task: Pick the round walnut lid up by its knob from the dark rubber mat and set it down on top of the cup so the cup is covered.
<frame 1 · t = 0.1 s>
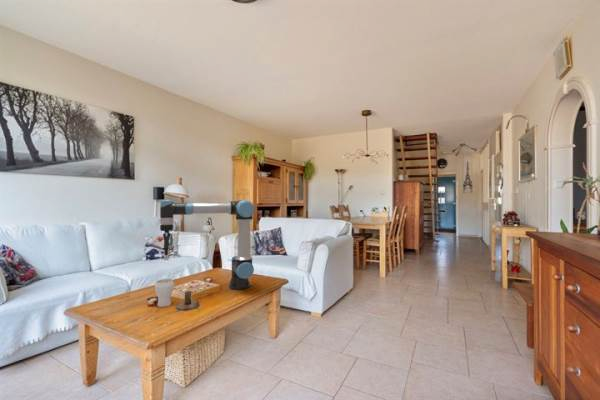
hand: (166, 257, 178), 28 cm above the table, fingers open, 13 cm apart
lid: (187, 306, 170), point 1 cm above the table, touching mat
cup: (164, 305, 173), on the table
mat: (187, 307, 170), on the table
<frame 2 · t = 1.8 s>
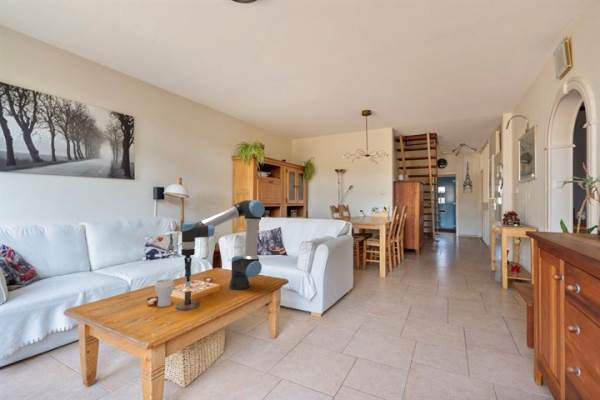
hand: (187, 283, 170), 14 cm above the table, fingers open, 13 cm apart
nothing on the table moved.
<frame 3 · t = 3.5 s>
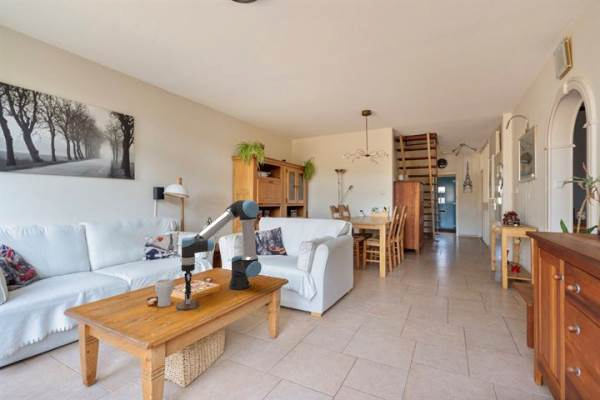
hand: (187, 302, 170), 3 cm above the table, fingers closed on lid, 3 cm apart
lid: (187, 306, 170), point 1 cm above the table, touching gripper
everything else where it was.
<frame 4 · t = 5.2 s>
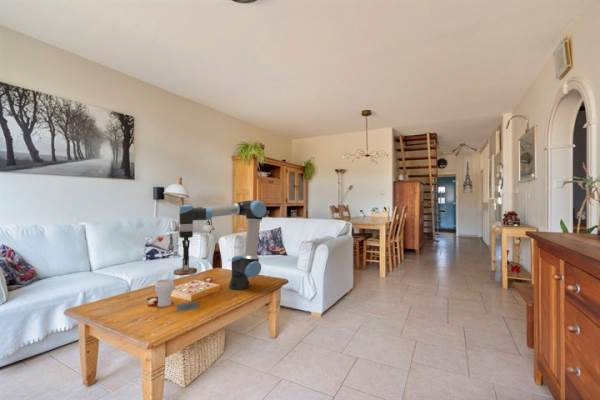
hand: (185, 269, 170), 23 cm above the table, fingers closed on lid, 3 cm apart
lid: (185, 272, 170), point 21 cm above the table, touching gripper
everything else where it was.
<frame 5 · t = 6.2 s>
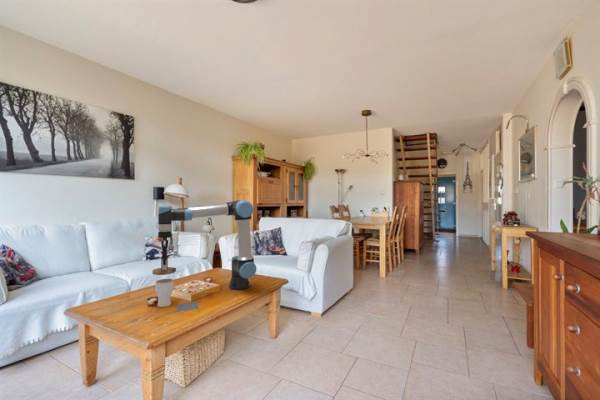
hand: (164, 269, 173), 22 cm above the table, fingers closed on lid, 3 cm apart
lid: (164, 272, 173), point 20 cm above the table, touching gripper
everything else where it was.
when the fingers open (19 cm above the table, at t = 6.8 s): lid drops 2 cm, resting on cup.
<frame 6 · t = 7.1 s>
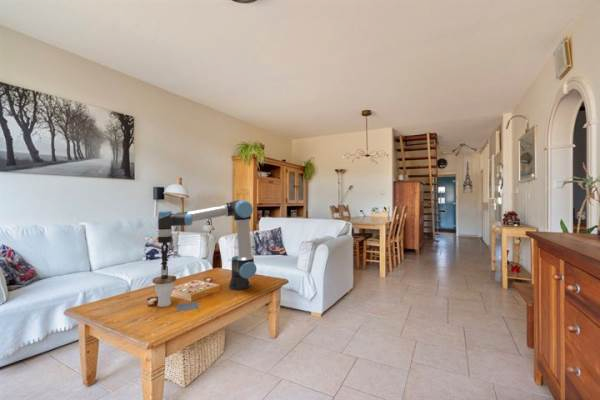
hand: (164, 273, 173), 20 cm above the table, fingers open, 7 cm apart
lid: (164, 280, 173), point 15 cm above the table, touching cup
cup: (164, 305, 173), on the table, touching lid
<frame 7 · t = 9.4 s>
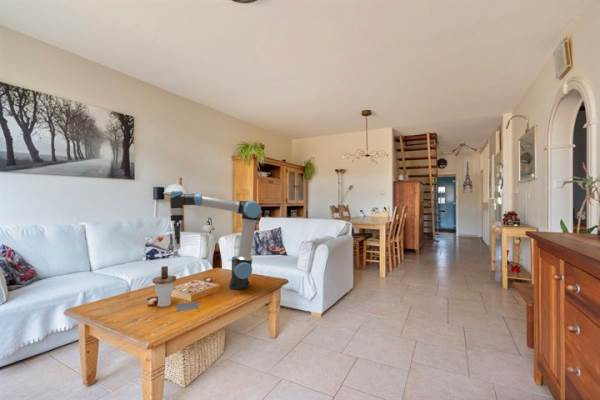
hand: (177, 247, 184), 34 cm above the table, fingers open, 13 cm apart
nothing on the table moved.
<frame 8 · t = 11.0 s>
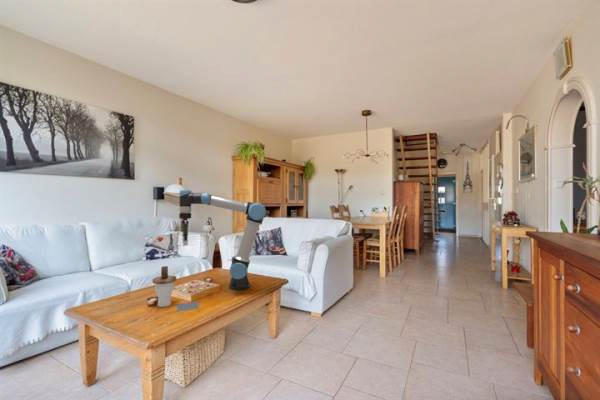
hand: (185, 244, 191), 35 cm above the table, fingers open, 13 cm apart
nothing on the table moved.
at the end: lid 0.0 cm from the cup (horizontally); lid point 15.0 cm above the table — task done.
